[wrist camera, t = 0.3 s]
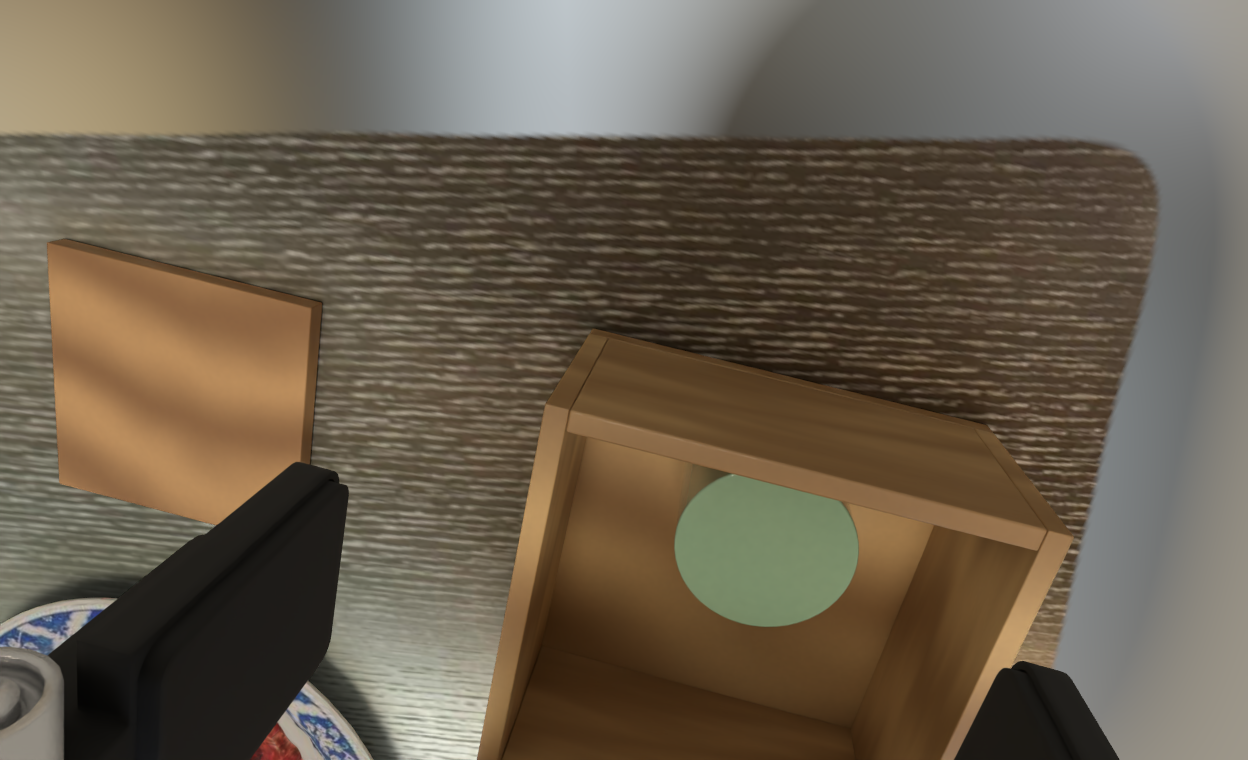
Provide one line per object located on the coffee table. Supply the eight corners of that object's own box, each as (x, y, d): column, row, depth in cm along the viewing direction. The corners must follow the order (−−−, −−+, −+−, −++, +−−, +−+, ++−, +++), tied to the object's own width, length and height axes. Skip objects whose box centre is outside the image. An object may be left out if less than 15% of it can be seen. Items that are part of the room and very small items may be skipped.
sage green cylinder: (704, 387, 32) (698, 448, 27) (858, 425, 32) (885, 495, 26) (668, 520, 34) (656, 602, 29) (812, 557, 34) (827, 647, 29)
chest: (592, 327, 33) (545, 403, 25) (987, 424, 32) (1075, 537, 24) (526, 643, 39) (470, 789, 30) (859, 732, 38) (893, 908, 30)
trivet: (64, 238, 35) (45, 241, 34) (323, 302, 34) (311, 307, 33) (74, 474, 39) (58, 484, 38) (305, 535, 38) (294, 546, 37)
